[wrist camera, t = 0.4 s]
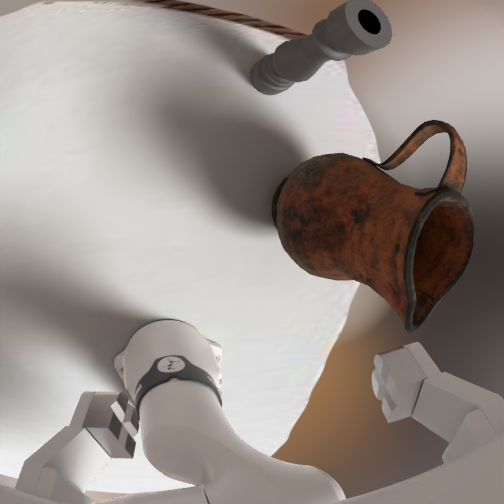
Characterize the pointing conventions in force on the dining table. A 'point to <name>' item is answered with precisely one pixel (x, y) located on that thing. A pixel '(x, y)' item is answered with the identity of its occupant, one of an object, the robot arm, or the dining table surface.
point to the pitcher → (380, 225)
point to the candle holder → (323, 46)
